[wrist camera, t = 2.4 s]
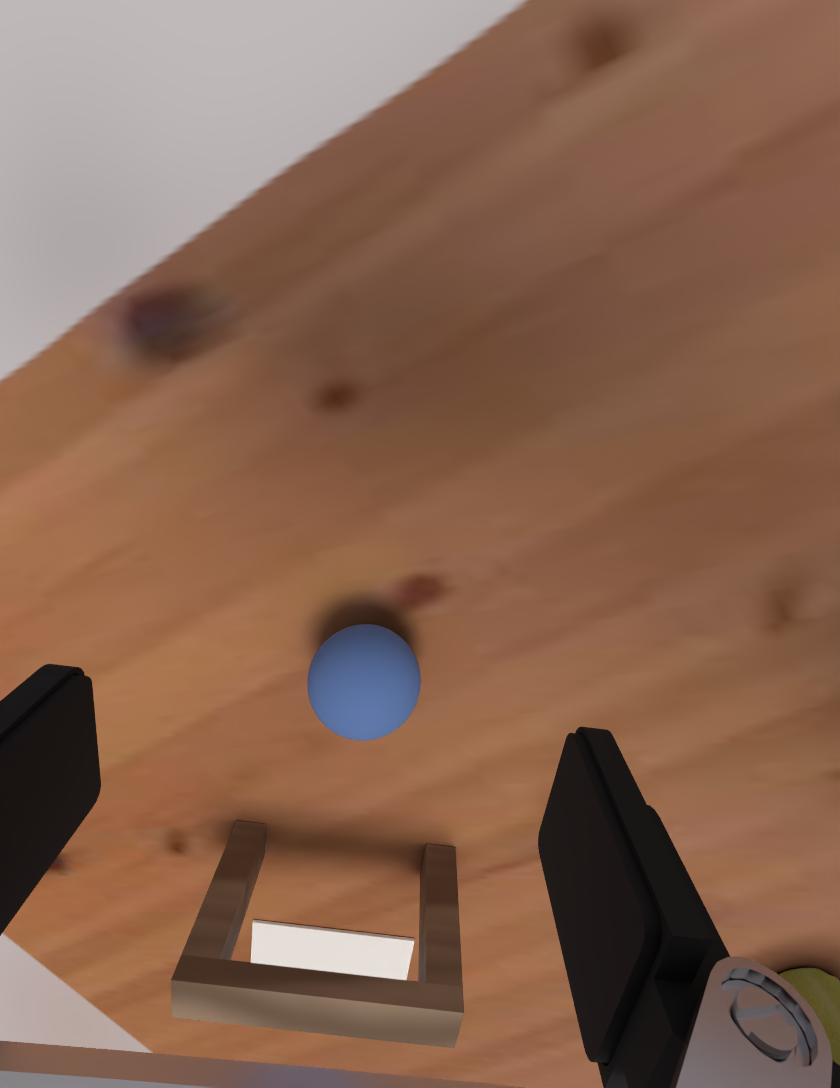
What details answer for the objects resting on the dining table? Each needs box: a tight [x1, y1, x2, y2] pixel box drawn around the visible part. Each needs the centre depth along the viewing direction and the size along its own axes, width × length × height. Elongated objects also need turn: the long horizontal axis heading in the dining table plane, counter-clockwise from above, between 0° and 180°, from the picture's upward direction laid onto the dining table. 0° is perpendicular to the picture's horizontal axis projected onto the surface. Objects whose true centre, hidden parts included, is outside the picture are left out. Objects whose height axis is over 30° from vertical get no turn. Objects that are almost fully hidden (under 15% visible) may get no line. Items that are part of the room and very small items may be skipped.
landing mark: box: [251, 920, 414, 980], centre depth 41 cm, size 12×12×1 cm
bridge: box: [171, 821, 464, 1048], centre depth 32 cm, size 3×15×10 cm, turn 82°
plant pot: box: [778, 968, 840, 1065], centre depth 37 cm, size 9×9×9 cm
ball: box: [308, 624, 421, 740], centre depth 28 cm, size 6×6×6 cm
